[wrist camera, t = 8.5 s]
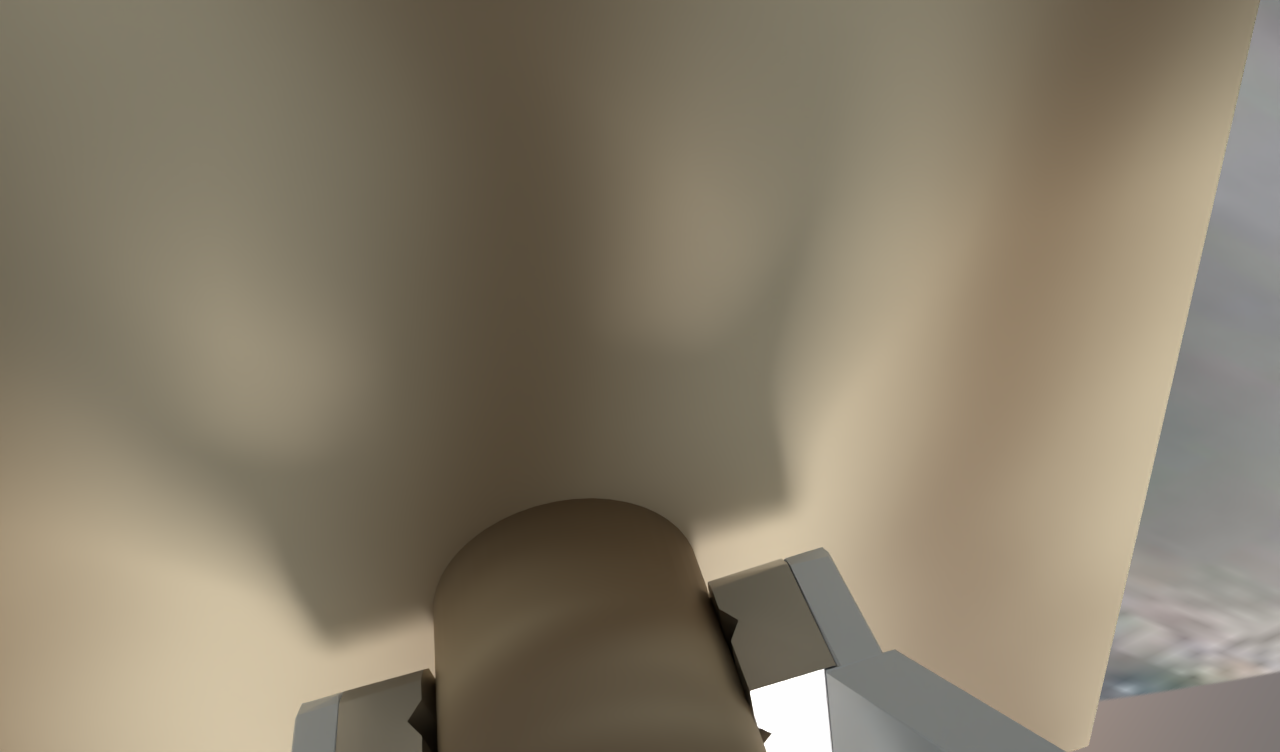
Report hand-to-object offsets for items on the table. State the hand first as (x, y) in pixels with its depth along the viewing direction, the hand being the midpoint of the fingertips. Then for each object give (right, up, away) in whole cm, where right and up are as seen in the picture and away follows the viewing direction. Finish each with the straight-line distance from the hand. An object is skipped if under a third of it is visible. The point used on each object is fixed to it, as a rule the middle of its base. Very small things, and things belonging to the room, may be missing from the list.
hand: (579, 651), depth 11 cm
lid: (0, +1, +2) cm, 2 cm away
